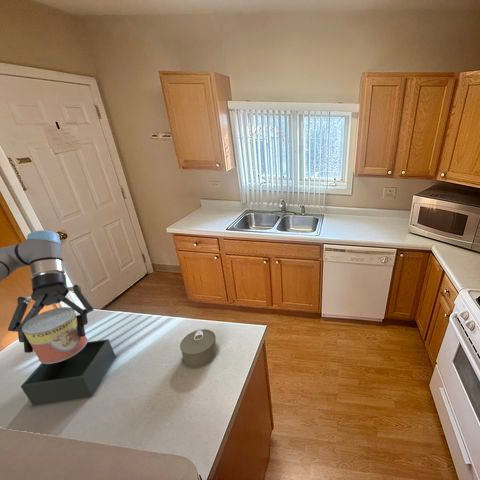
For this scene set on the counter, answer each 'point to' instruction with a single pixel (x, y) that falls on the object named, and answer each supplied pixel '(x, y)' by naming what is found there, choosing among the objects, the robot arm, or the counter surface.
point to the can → (199, 348)
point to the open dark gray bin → (70, 375)
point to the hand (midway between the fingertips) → (56, 343)
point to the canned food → (54, 335)
